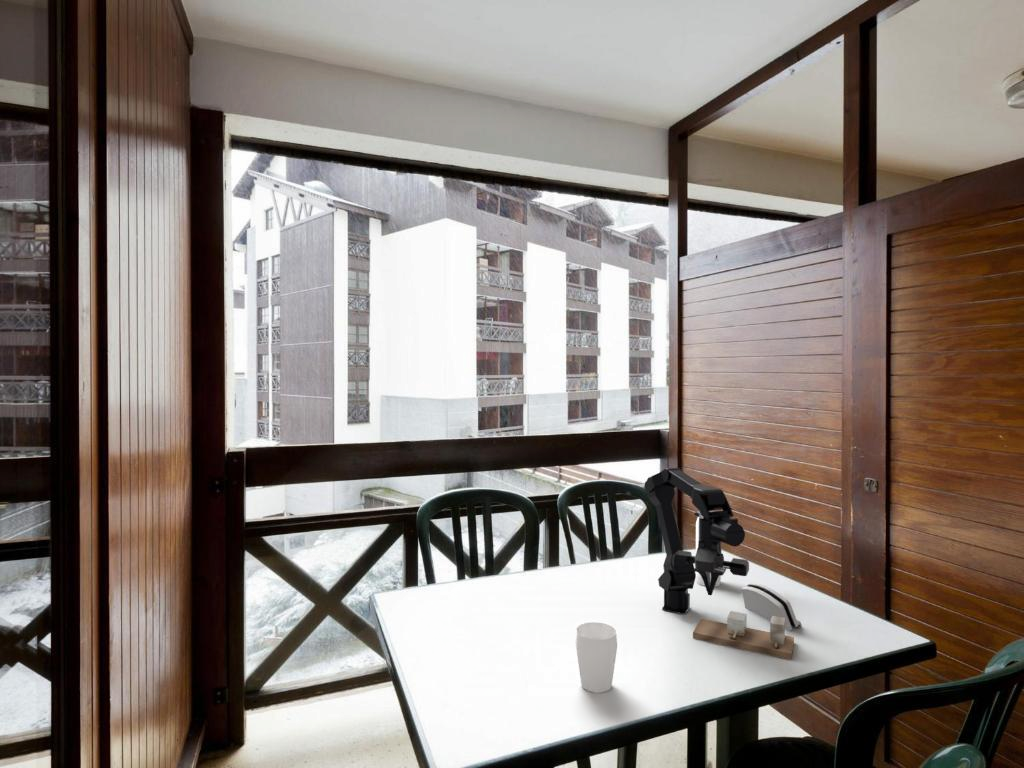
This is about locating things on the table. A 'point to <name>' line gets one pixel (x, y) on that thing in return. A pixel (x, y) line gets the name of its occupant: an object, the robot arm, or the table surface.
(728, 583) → the table surface
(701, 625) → the hole board
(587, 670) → the cup
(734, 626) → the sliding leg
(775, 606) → the light grey curved piece
